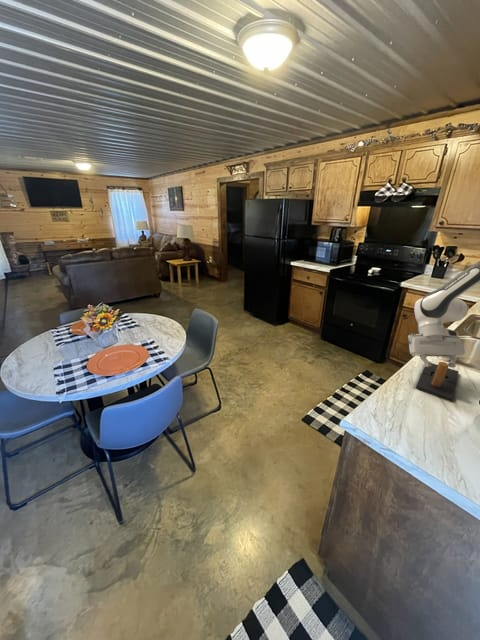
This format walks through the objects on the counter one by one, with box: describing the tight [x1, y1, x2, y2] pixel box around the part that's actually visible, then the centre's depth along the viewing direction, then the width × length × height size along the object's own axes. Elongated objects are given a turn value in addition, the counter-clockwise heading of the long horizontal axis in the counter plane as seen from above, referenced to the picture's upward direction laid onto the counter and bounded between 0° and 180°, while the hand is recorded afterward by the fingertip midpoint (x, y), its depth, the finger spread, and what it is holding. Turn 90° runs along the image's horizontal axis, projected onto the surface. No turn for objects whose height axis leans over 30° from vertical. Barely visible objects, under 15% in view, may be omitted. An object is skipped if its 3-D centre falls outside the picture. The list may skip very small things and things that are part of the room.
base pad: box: [421, 362, 459, 385], centre depth 116 cm, size 12×12×2 cm
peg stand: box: [415, 361, 457, 402], centre depth 107 cm, size 16×12×12 cm
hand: (440, 366), depth 105 cm, fingers open, 8 cm apart
